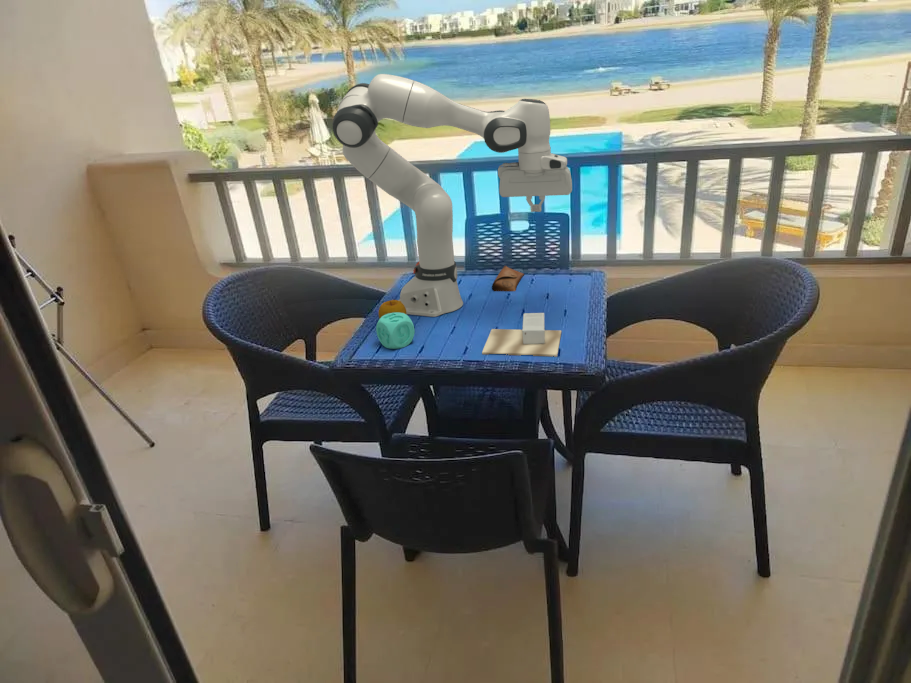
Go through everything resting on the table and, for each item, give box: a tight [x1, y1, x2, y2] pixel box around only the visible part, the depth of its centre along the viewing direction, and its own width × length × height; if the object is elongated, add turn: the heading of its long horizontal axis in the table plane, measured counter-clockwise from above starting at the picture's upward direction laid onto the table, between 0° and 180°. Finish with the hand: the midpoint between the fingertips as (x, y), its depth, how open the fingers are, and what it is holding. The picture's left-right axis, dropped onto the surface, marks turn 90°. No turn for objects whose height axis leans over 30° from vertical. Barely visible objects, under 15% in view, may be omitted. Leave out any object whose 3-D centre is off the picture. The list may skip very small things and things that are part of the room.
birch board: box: [481, 328, 562, 358], centre depth 169 cm, size 20×15×1 cm
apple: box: [377, 299, 407, 320], centre depth 184 cm, size 9×8×9 cm
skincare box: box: [521, 312, 546, 344], centre depth 171 cm, size 6×4×12 cm
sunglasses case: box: [491, 265, 525, 292], centre depth 213 cm, size 18×7×7 cm
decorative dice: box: [375, 312, 416, 350], centre depth 174 cm, size 8×8×8 cm
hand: (536, 211), depth 174 cm, fingers closed
